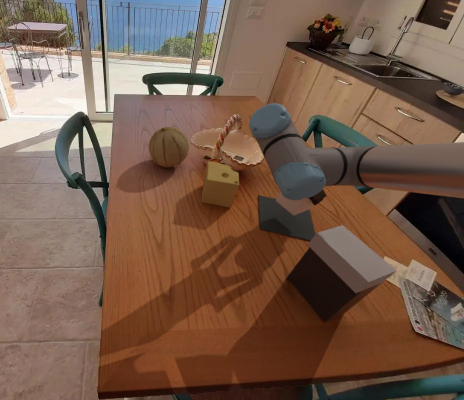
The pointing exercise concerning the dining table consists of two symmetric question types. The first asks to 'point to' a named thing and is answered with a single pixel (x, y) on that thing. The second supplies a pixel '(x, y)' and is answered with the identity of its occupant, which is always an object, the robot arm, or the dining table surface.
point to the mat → (284, 220)
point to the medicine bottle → (294, 204)
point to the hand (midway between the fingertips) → (307, 192)
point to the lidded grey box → (338, 272)
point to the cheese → (219, 184)
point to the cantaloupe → (168, 147)
